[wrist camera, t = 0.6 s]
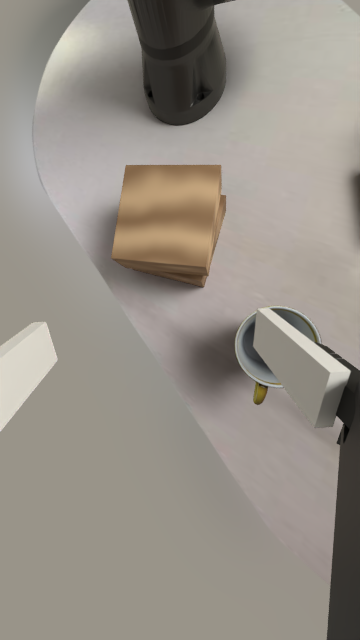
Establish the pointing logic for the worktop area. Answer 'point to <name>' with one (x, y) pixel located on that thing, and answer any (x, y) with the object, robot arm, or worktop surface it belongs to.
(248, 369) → the ceramic cup
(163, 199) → the tower top block
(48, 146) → the worktop surface
